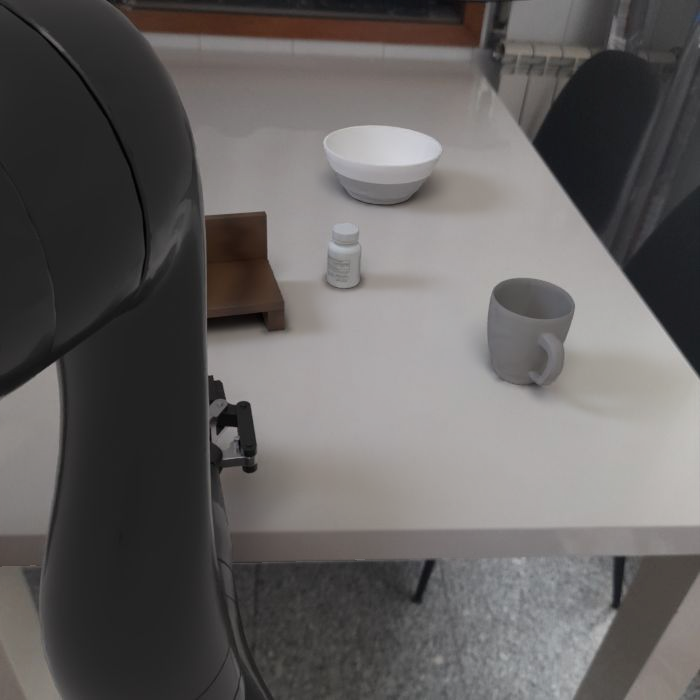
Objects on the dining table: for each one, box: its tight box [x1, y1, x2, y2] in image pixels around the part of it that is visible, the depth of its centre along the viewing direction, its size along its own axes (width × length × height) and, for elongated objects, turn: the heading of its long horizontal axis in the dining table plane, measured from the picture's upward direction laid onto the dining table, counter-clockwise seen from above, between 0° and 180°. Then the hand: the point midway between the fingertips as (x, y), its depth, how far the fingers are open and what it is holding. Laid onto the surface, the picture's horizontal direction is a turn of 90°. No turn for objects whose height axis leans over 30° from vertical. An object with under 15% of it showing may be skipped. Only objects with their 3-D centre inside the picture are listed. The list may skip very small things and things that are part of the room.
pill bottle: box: [326, 222, 362, 289], centre depth 94 cm, size 4×4×8 cm
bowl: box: [322, 124, 443, 205], centre depth 119 cm, size 19×20×8 cm
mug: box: [486, 277, 576, 386], centre depth 77 cm, size 12×9×10 cm
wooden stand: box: [205, 210, 286, 332], centre depth 85 cm, size 20×12×10 cm, turn 106°
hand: (158, 389), depth 61 cm, fingers open, 8 cm apart
